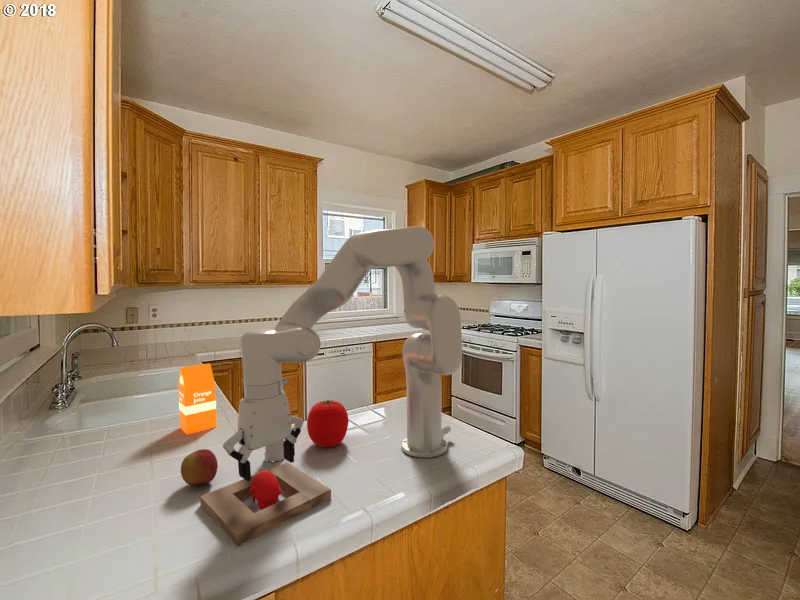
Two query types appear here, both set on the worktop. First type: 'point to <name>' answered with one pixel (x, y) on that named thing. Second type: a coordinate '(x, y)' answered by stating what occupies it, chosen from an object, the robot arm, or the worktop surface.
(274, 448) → the bottle
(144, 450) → the worktop surface
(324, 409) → the tomato
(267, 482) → the red rounded piece
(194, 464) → the apple
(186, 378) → the orange juice
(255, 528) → the walnut board
